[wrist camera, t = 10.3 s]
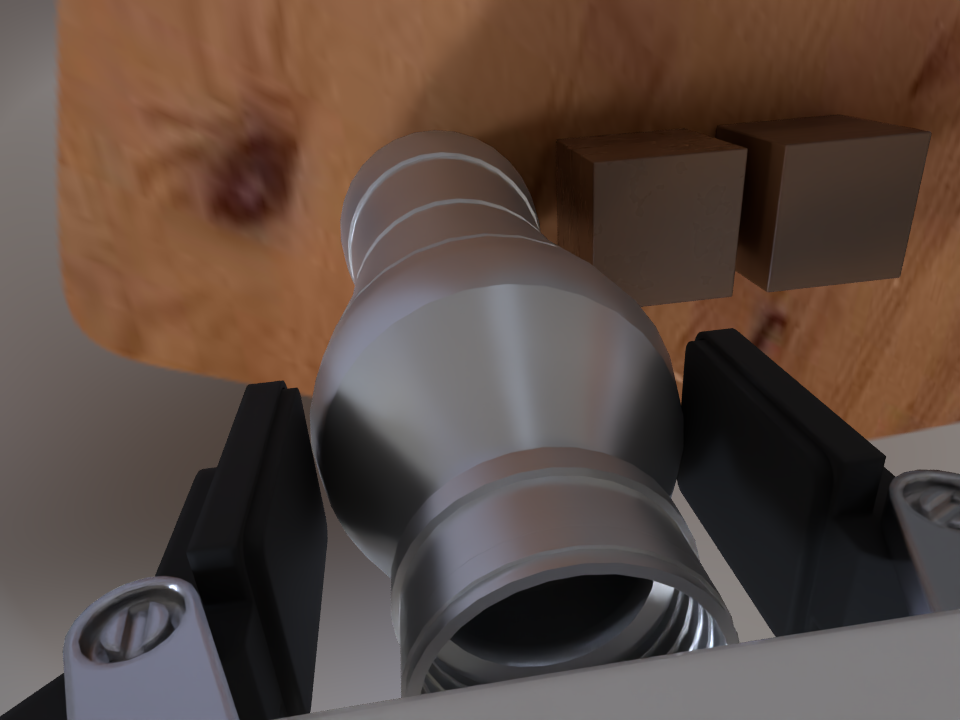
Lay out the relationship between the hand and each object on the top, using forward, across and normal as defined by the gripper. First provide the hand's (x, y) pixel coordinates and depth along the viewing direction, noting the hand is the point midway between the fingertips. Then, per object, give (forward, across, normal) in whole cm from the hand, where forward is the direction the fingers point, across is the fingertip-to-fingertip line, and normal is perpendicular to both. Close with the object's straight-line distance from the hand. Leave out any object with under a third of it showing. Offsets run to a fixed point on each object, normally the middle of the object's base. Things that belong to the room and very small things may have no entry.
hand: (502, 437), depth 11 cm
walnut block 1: (+15, -7, 0) cm, 17 cm away
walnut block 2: (+15, -13, 0) cm, 20 cm away
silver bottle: (+15, 0, 0) cm, 15 cm away
